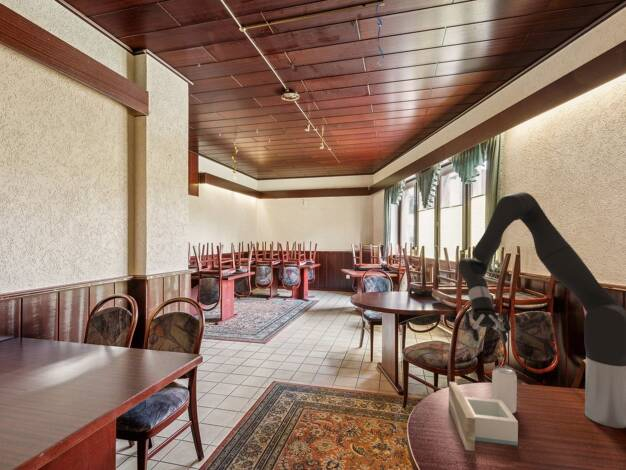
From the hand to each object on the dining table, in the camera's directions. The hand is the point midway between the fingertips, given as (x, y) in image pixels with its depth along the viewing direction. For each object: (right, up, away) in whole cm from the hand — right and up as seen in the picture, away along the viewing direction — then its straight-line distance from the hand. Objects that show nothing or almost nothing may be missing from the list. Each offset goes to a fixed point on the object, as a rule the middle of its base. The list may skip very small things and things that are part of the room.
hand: (491, 342), depth 112 cm
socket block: (-14, -16, -23) cm, 31 cm away
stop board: (-20, -16, -22) cm, 34 cm away
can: (-2, -17, -12) cm, 21 cm away
